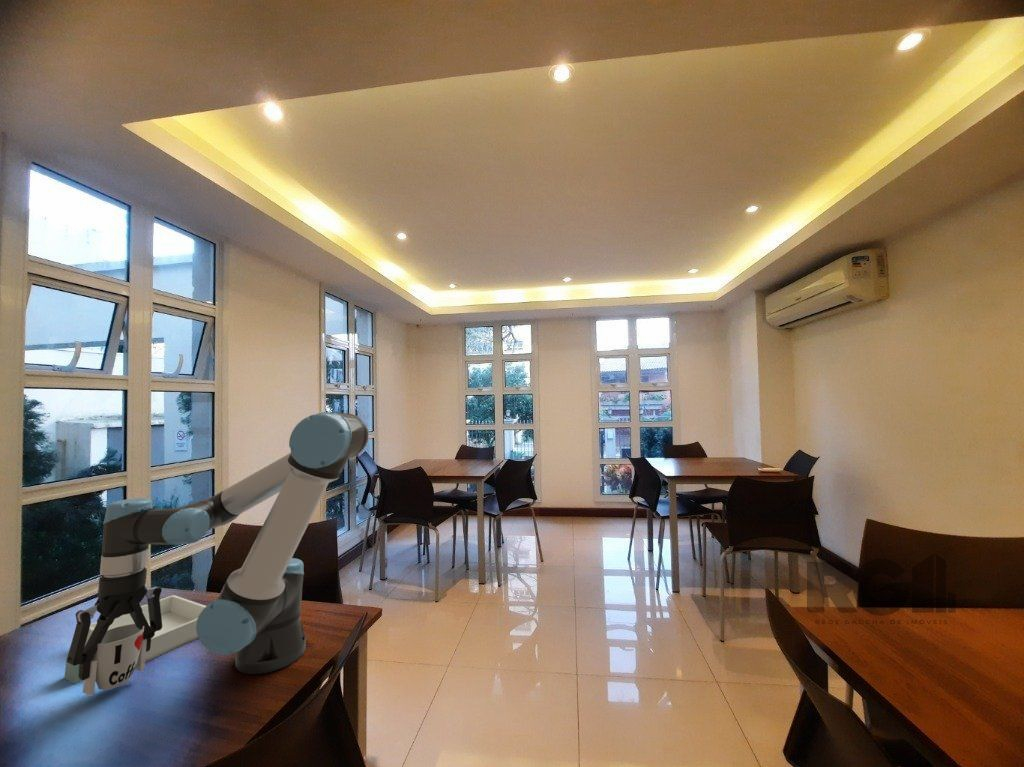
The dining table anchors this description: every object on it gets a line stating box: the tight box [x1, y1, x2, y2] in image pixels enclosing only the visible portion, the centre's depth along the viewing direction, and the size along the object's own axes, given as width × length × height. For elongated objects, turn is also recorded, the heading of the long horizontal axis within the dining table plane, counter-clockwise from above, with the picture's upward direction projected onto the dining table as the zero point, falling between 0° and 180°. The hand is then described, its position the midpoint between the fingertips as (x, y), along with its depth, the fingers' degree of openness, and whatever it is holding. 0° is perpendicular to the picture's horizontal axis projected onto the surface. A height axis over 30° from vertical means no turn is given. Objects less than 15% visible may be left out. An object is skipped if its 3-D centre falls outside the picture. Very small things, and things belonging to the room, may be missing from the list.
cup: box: [93, 624, 144, 691], centre depth 85 cm, size 8×8×10 cm
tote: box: [85, 594, 207, 663], centre depth 105 cm, size 22×20×5 cm
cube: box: [63, 654, 84, 685], centre depth 90 cm, size 5×5×5 cm
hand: (114, 680), depth 85 cm, fingers closed on cup, 8 cm apart
